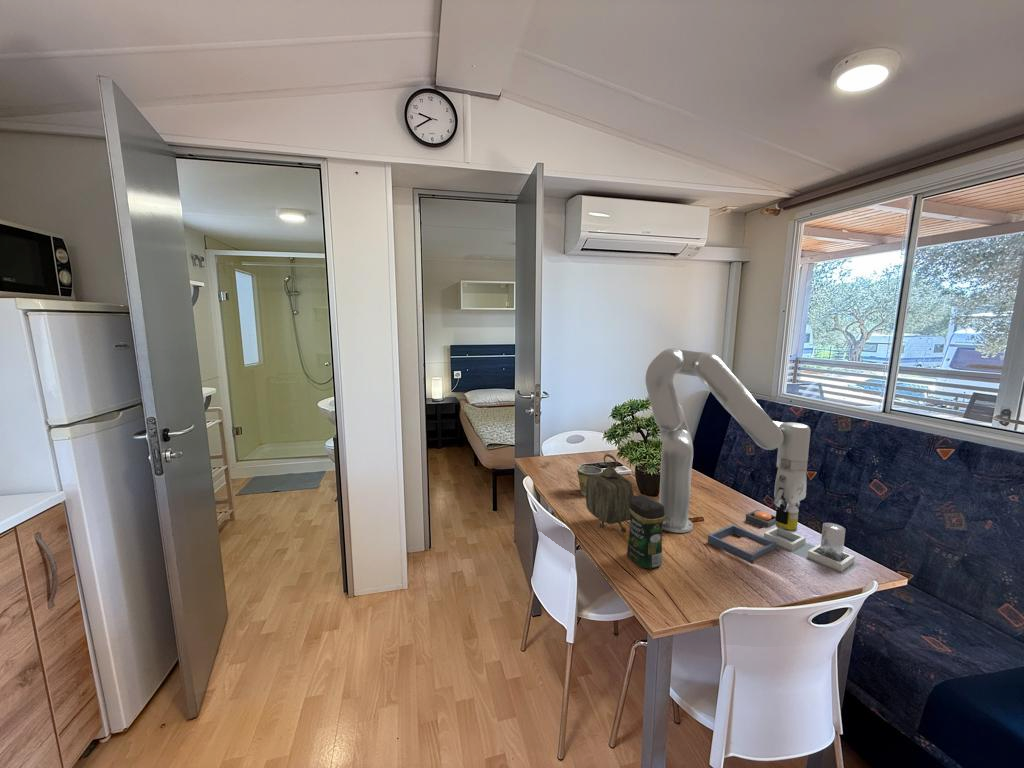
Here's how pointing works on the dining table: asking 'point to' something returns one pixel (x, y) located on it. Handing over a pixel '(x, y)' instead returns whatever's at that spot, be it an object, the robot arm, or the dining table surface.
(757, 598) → the dining table surface
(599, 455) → the dining table surface
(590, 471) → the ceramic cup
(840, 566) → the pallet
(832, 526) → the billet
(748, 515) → the button housing
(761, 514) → the button
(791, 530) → the supplement bottle
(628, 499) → the olive drawstring pouch
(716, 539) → the rectangular frame
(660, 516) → the coffee jar
